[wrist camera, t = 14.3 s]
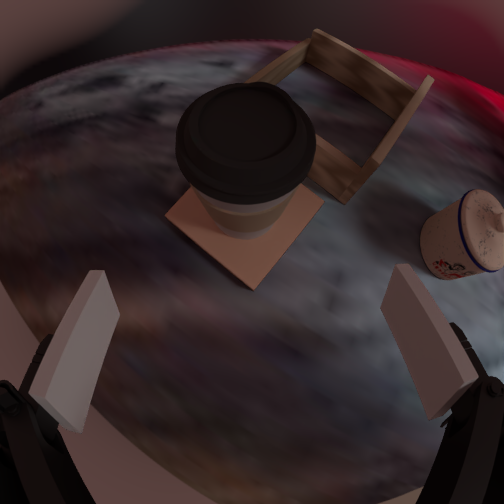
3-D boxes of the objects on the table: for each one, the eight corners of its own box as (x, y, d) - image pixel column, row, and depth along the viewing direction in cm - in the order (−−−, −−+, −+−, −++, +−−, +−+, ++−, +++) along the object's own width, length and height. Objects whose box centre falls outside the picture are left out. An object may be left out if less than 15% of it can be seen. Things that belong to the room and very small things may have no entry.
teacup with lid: (418, 281, 31) (483, 264, 19) (414, 208, 33) (470, 169, 21) (481, 284, 31) (542, 270, 19) (476, 221, 33) (531, 193, 21)
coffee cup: (254, 268, 29) (265, 221, 14) (182, 217, 30) (136, 135, 15) (304, 199, 31) (349, 111, 16) (235, 155, 31) (232, 51, 17)
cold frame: (403, 121, 35) (434, 79, 26) (344, 205, 32) (380, 164, 22) (303, 56, 37) (314, 7, 28) (224, 119, 34) (220, 62, 24)
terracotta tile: (321, 206, 32) (324, 201, 31) (253, 291, 30) (253, 290, 28) (238, 145, 33) (238, 138, 32) (167, 219, 31) (164, 215, 30)
